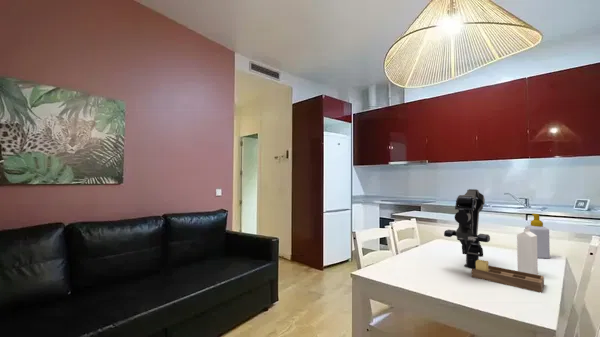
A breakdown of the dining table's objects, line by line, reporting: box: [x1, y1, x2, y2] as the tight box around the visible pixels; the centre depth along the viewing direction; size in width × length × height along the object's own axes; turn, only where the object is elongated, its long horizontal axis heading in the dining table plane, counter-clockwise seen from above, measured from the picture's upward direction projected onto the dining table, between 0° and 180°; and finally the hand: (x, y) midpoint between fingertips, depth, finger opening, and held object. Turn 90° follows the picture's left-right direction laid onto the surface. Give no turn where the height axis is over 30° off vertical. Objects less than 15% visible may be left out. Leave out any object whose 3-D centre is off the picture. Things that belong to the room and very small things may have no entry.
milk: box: [516, 228, 539, 275], centre depth 138 cm, size 6×6×22 cm
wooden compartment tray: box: [471, 264, 545, 293], centre depth 128 cm, size 12×25×4 cm, turn 45°
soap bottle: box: [524, 213, 551, 259], centre depth 168 cm, size 9×9×25 cm
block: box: [476, 259, 489, 272], centre depth 133 cm, size 4×4×5 cm
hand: (466, 253), depth 138 cm, fingers closed
